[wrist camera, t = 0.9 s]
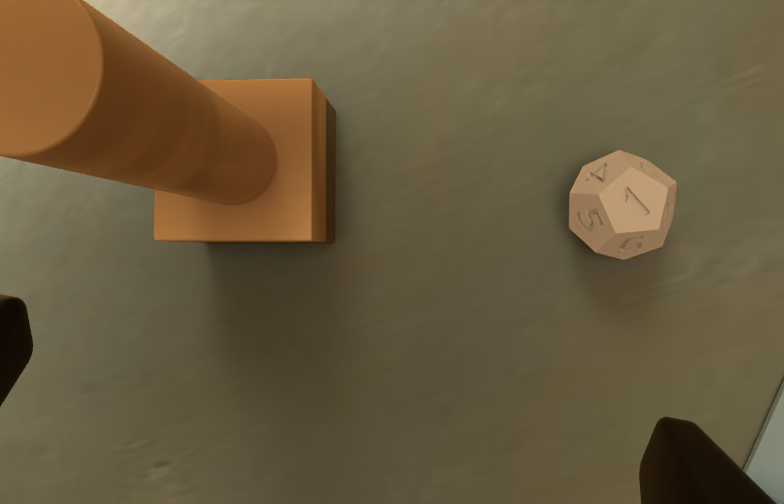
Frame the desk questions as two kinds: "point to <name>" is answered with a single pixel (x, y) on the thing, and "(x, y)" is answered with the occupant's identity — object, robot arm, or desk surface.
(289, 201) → the brush
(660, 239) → the game die
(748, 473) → the dustpan
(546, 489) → the desk surface
